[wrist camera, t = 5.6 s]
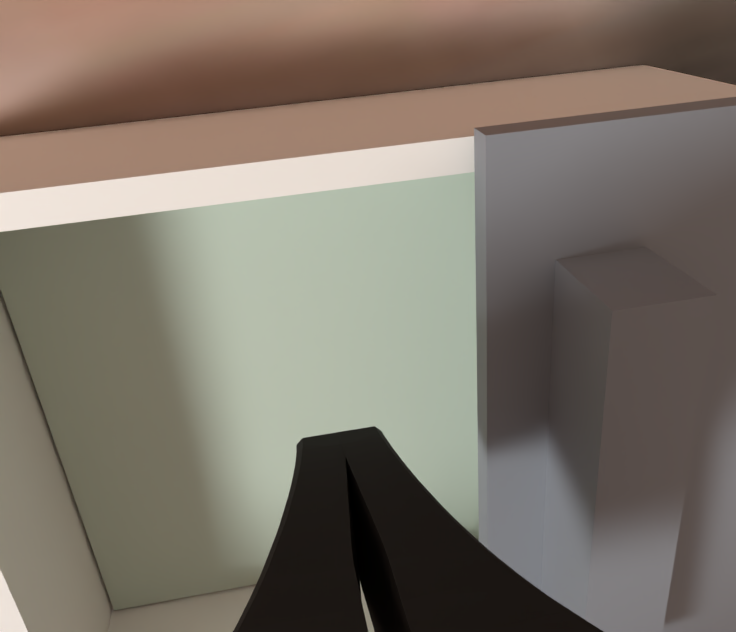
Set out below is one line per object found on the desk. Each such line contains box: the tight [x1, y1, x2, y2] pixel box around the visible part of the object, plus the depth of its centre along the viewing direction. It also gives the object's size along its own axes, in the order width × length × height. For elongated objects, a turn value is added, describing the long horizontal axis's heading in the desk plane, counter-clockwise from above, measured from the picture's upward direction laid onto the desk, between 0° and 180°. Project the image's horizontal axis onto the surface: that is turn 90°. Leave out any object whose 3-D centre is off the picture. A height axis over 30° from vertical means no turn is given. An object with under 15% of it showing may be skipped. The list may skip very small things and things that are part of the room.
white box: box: [0, 65, 736, 632], centre depth 16 cm, size 14×16×5 cm
